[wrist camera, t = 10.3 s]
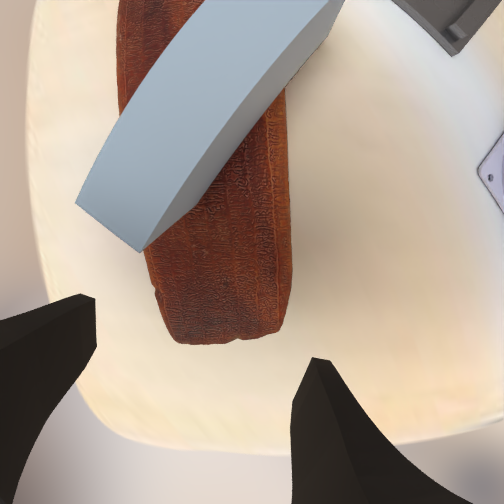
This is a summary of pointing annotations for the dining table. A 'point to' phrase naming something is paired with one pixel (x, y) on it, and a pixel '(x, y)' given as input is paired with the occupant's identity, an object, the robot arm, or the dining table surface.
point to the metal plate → (450, 19)
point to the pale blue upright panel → (198, 110)
